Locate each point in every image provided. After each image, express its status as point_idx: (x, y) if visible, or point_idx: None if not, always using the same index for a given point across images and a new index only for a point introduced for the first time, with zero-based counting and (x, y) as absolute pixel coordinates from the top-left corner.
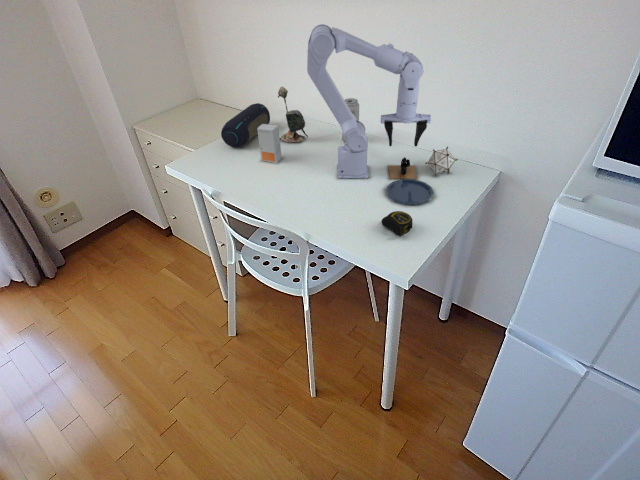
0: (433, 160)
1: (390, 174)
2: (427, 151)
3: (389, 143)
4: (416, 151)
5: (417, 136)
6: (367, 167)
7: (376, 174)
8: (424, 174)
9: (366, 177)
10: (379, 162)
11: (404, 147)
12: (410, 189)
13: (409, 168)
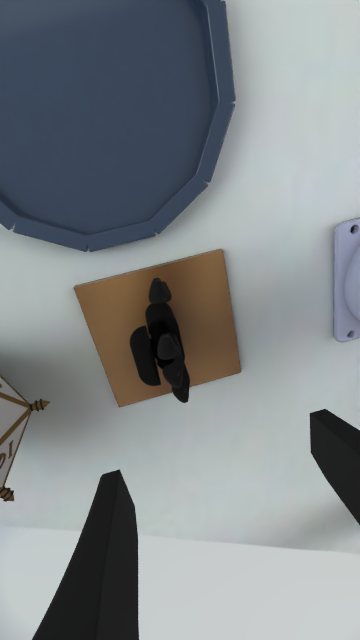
0: None
1: (224, 290)
2: None
3: (347, 423)
4: None
5: (96, 581)
6: (339, 322)
7: (291, 281)
8: (49, 347)
9: (346, 222)
10: (280, 390)
11: (188, 524)
12: (81, 131)
13: (137, 373)
